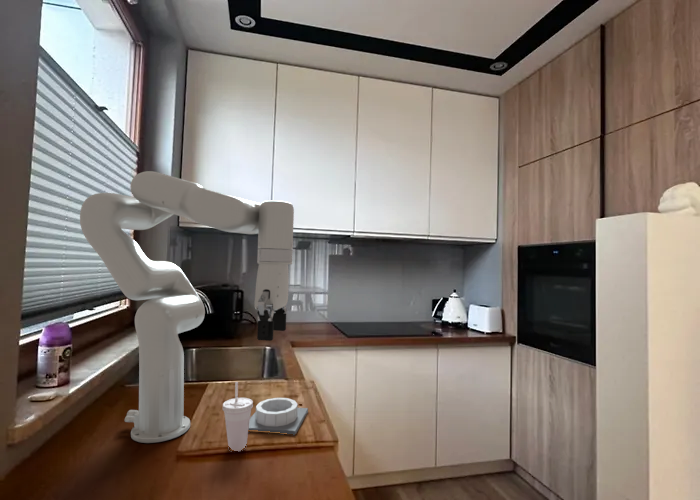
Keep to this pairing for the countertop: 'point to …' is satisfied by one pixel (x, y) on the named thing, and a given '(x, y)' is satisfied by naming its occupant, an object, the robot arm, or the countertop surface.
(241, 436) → the smoothie
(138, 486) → the countertop surface
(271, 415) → the holder
